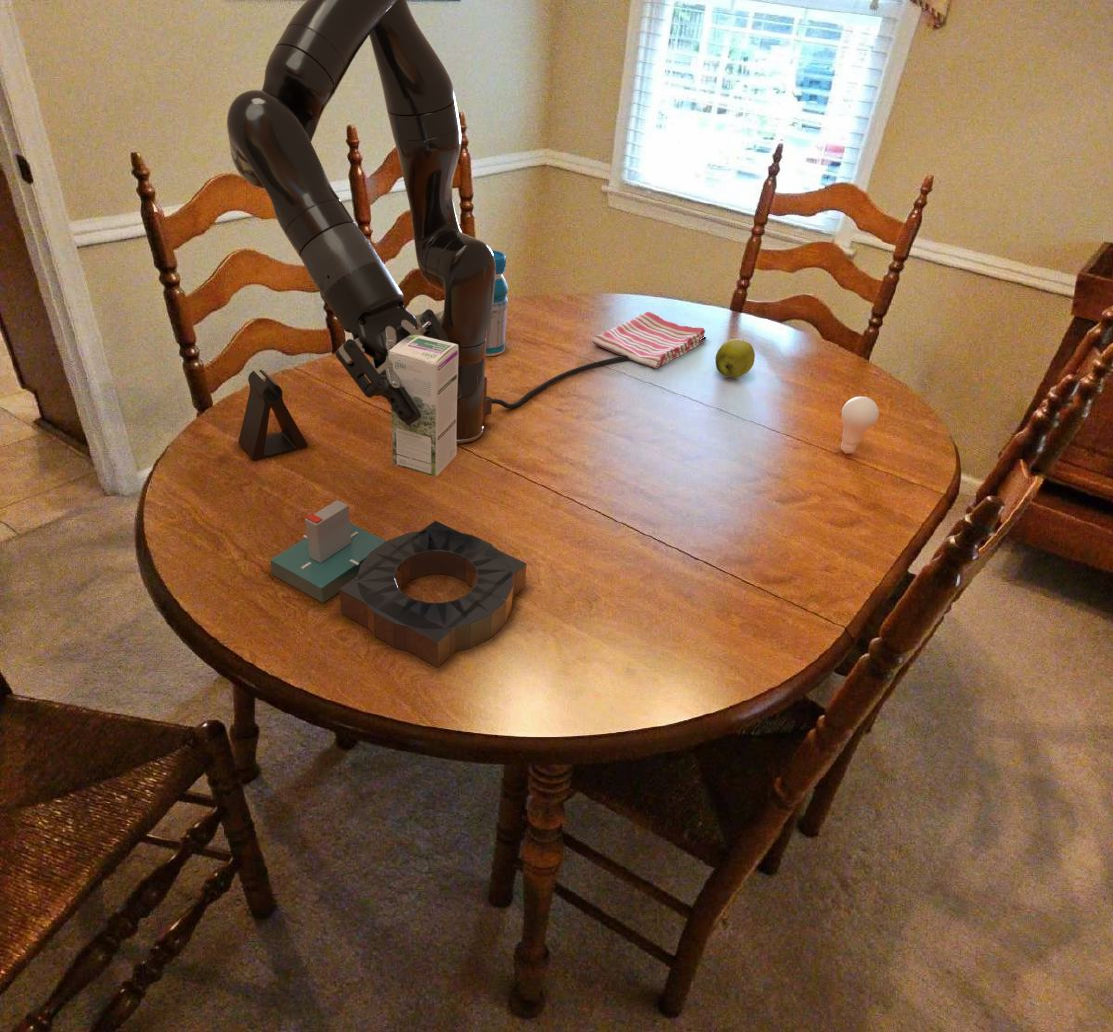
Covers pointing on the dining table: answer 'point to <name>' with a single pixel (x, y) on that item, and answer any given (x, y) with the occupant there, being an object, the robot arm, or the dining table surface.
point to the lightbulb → (857, 421)
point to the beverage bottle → (498, 309)
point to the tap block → (324, 565)
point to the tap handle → (328, 531)
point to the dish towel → (650, 339)
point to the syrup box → (426, 403)
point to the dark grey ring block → (433, 624)
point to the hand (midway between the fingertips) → (436, 409)
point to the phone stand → (257, 421)
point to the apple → (735, 358)
